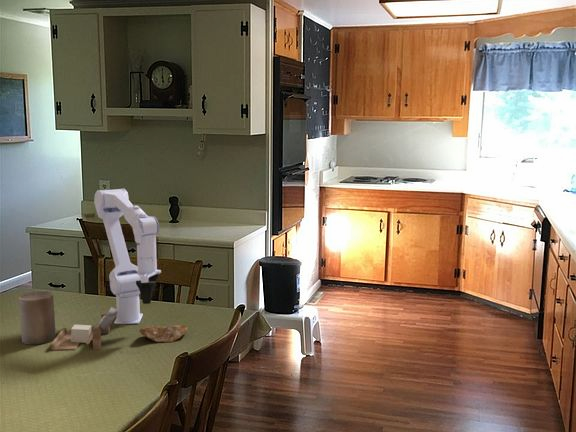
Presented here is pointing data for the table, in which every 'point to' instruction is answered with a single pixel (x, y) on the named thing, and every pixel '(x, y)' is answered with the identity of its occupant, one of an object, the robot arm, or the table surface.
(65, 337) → the frame
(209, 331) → the table surface
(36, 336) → the pillar candle
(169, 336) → the decorative stone
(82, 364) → the table surface
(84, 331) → the stone block
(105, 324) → the trapdoor
